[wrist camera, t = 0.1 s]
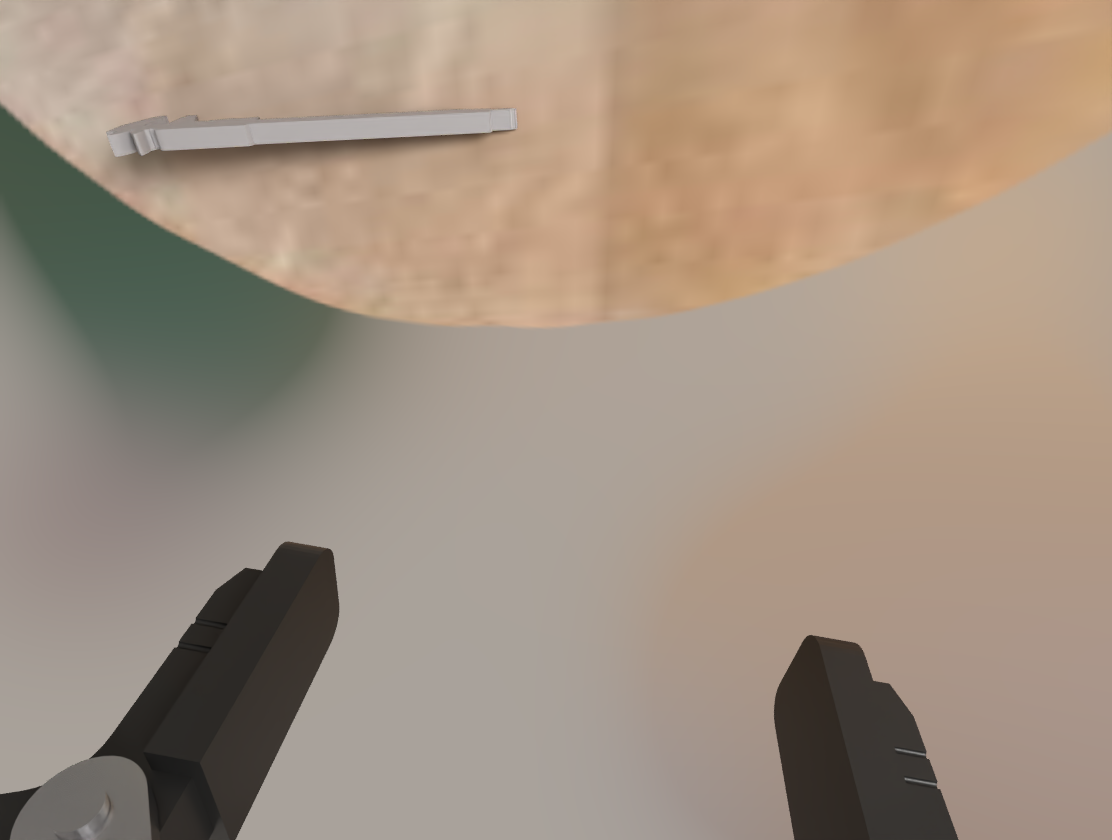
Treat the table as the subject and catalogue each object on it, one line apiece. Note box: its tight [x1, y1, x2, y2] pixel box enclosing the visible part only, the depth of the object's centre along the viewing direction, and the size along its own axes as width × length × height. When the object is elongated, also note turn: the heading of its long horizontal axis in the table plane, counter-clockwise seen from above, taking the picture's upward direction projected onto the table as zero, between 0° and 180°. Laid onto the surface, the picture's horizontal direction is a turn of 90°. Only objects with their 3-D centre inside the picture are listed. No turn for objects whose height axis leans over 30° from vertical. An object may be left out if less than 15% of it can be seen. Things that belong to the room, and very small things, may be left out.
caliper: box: [106, 108, 517, 157], centre depth 33 cm, size 20×1×6 cm, turn 92°
